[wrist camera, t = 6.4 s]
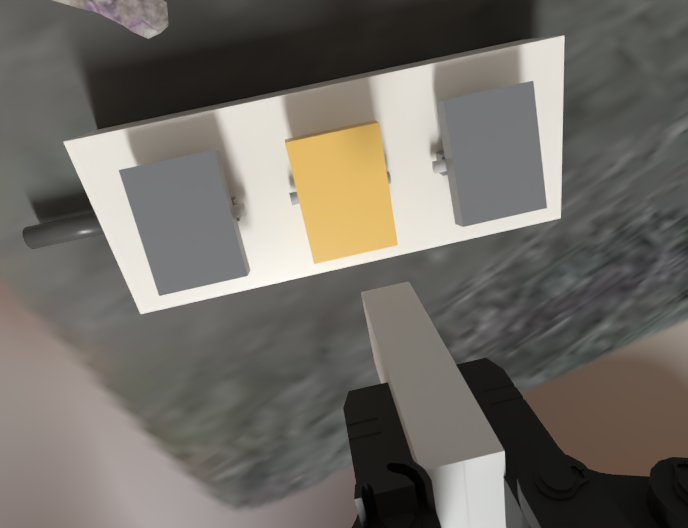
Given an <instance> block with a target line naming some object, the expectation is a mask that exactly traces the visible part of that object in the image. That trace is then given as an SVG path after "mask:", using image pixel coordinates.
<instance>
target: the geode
mask: <svg viewBox="0 0 688 528" xmlns="http://www.w3.org/2000/svg"><path fill="white" fill-rule="evenodd" d="M53 1H56V2H60V3H63V4H67V5H70V6H74V7H77V8H81V9H85V10H89V11H94V12H97V13H99V14H101V15H103V16H105V17H107V18H109V19H111V20H113V21H115V22H117V23H119V24H121V25H123V26H125V27H126V28H128V29H129V30H130V31H132V32H134V33H136V34H138V35H141V36H143V37H145V38H148V39H149V38H151V37H153V36H155V35H158V34H160V33H161V32H162V31H163V30H164V29H166V28H167V27H168V26H169V24H168V11H167V1H168V0H53Z"/></svg>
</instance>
